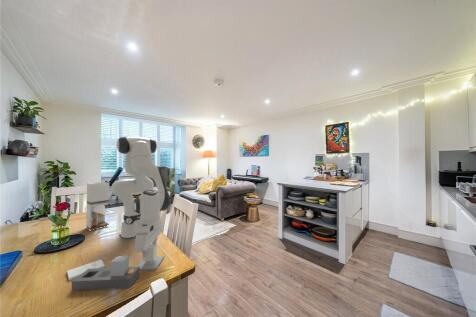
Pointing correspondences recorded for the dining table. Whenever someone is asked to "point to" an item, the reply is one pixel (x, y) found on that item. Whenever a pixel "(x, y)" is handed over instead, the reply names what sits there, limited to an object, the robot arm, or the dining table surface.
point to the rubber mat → (150, 266)
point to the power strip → (104, 279)
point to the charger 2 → (151, 254)
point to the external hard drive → (84, 269)
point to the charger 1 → (120, 266)
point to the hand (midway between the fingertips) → (149, 251)
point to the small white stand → (97, 204)
